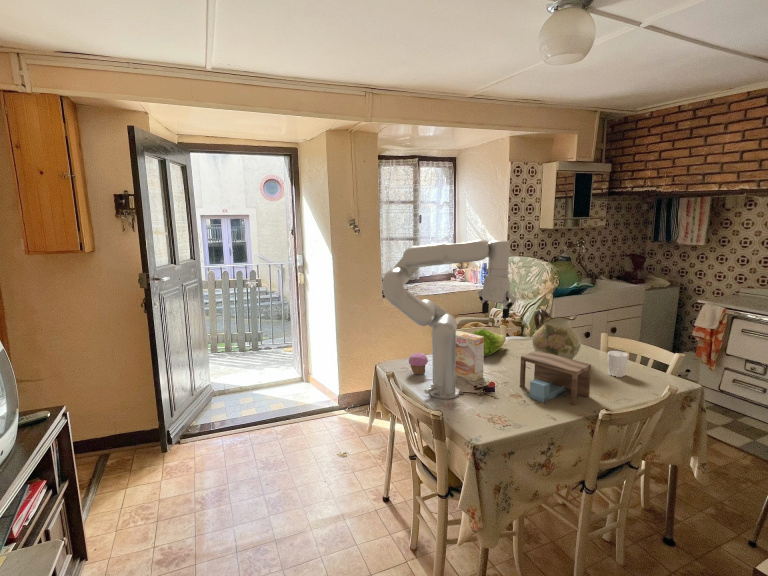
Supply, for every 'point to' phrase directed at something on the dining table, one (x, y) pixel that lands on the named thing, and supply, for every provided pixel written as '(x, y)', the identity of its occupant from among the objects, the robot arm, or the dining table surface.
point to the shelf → (559, 373)
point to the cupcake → (418, 363)
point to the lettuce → (490, 341)
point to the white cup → (617, 363)
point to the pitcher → (555, 335)
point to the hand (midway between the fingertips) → (495, 315)
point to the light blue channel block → (544, 390)
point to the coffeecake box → (469, 355)
